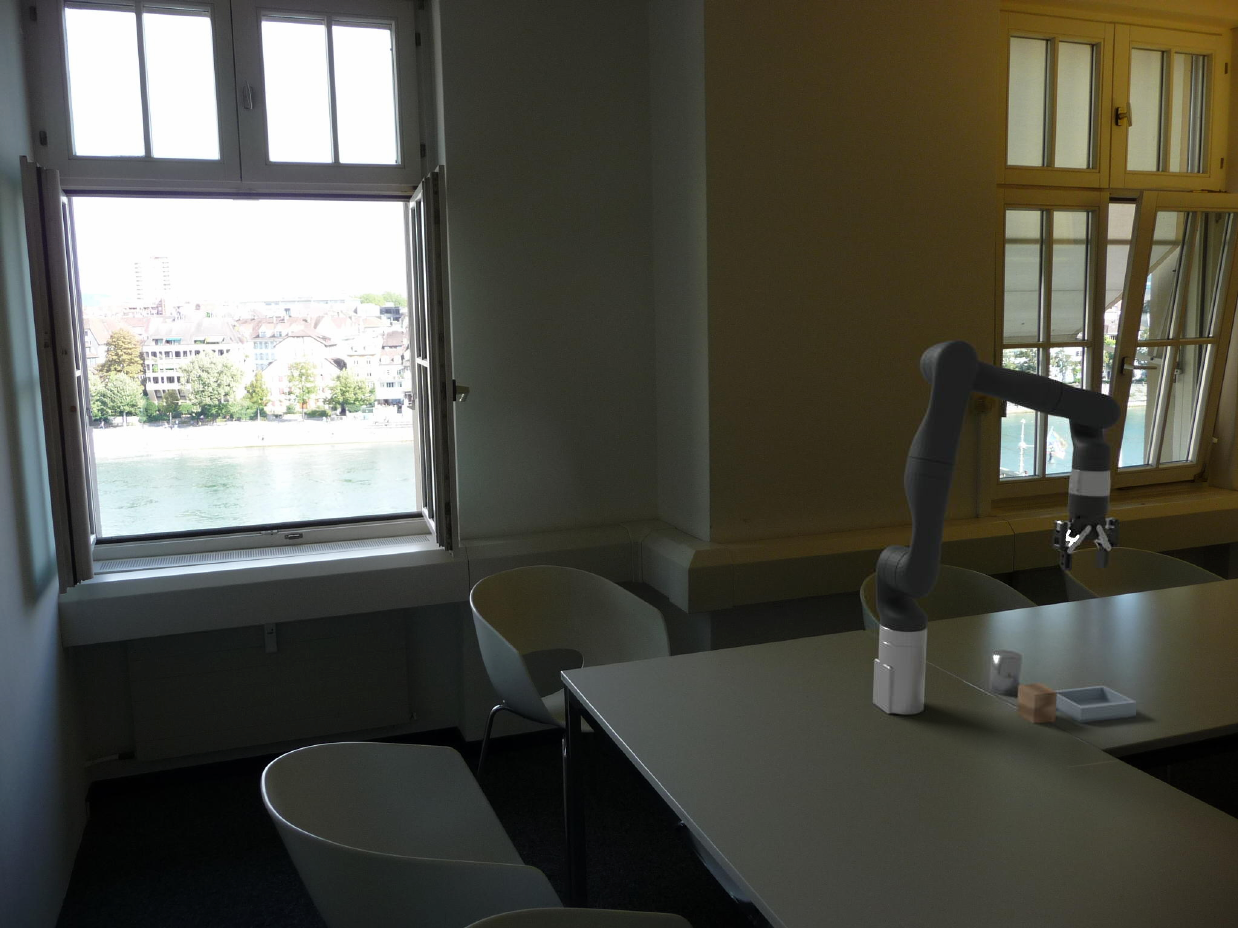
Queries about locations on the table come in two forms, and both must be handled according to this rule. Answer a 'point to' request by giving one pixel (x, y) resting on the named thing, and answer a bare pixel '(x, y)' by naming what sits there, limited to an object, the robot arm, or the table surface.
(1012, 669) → the grey can
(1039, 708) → the walnut block
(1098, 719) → the slate tray
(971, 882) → the table surface
